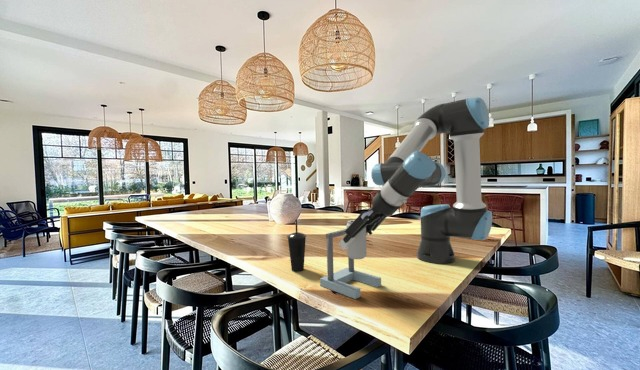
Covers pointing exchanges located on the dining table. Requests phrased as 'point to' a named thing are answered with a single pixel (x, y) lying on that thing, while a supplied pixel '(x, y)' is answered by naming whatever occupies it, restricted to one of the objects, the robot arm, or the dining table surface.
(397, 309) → the dining table surface
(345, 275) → the grey arch frame
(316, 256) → the dining table surface
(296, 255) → the drinking cup
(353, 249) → the beverage can
